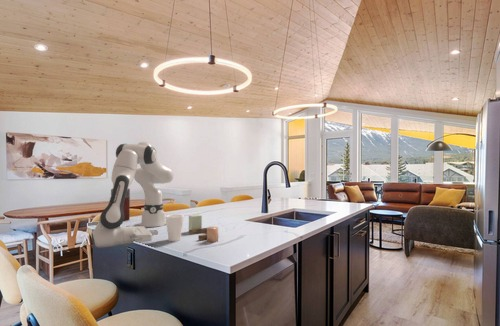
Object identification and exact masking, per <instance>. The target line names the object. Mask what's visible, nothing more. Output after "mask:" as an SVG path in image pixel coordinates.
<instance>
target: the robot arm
mask: <svg viewBox="0 0 500 326" xmlns="http://www.w3.org/2000/svg"><path fill="white" fill-rule="evenodd" d="M115 157H116V159H115V162H114V164H113V167H112V171H111V183H112V189H113V191H112V194H111V193H110V197H109V202H108V204H107V206H106V207H105V208H103V211H102V212H101V213H100V216H99V219H98V222H97V224H96V226H95V227H94V229H93V231H91V234H90V236H91V241H92V245H93V246H94V247H96V248H99V249H101V248H112V247H115V246H127V245H133V244H134V242H135V243H146V242H152V240H153V236H155V235H156V236H157V235H158V234H159V231H158V230H157V229H147V228H157V227H162V226H167V223H166V212H165V211H164V203H163V192H162V190H160V189H159V188H156V187H155V184H160V185H161V184H162V185H163V184H168V183H171V182H172V181H173V180H174V176H175V175H174V171H173V170H172V169H171V168H169V167H168V166H165V165H164V164H163V163H161V162H160V161H159V159H158V157H157V149H155V147H154V146H152V145H151V143H149V142H147V141H140V142H138V143H137V144H136V143H130V144H129V143H122V144H119V145H117V147H116V149H115ZM138 164H139V166H140V167H138ZM133 180H135V182H136V183H138V184H139V186H140V187H142V190H143V193H144V205H143V209H144V210H143V212H141V221H140V223H138V225H136V226H131V225H126V226H121V225H122V224H123V223H124V222H125V221H124V211H123V205H124V200H125V197H126V193H127V190H128V188H129V189H130V186H131V184H132V183H133Z"/></svg>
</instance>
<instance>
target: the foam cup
mask: <svg viewBox="0 0 500 326" xmlns="http://www.w3.org/2000/svg"><path fill="white" fill-rule="evenodd" d="M184 217H185V216H184V214H179V213H174V214H173V213H172V214H167V215H165V221H166V223H167V225H166V229H167V230H166V231H167V238H168V241H169V242H178V241H180V240H181V238H182V233H183V232H182V231H183V225H184V220H185V218H184Z"/></svg>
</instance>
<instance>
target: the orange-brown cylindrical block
mask: <svg viewBox="0 0 500 326" xmlns="http://www.w3.org/2000/svg"><path fill="white" fill-rule="evenodd" d="M206 228H207V233H206V234H207V240H206V242H207V243H217V242H219V227H218V226H208V227H206Z"/></svg>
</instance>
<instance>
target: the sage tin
mask: <svg viewBox="0 0 500 326" xmlns="http://www.w3.org/2000/svg"><path fill="white" fill-rule="evenodd" d="M202 218H203V217H202V215H201V214H189V215H188V231H189V230H192V229H201V228H203V227H202V225H203V223H202V222H203V221H202Z"/></svg>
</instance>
